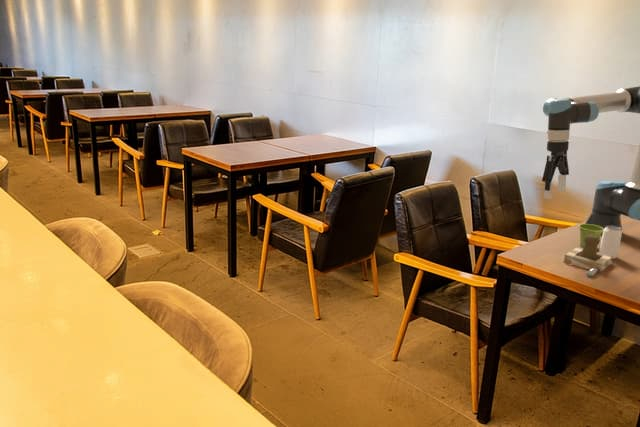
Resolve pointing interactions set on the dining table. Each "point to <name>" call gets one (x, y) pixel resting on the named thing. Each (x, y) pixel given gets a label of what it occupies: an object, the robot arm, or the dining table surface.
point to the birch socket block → (587, 260)
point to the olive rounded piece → (590, 247)
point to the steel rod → (592, 271)
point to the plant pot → (589, 232)
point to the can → (610, 241)
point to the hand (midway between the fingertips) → (554, 194)
